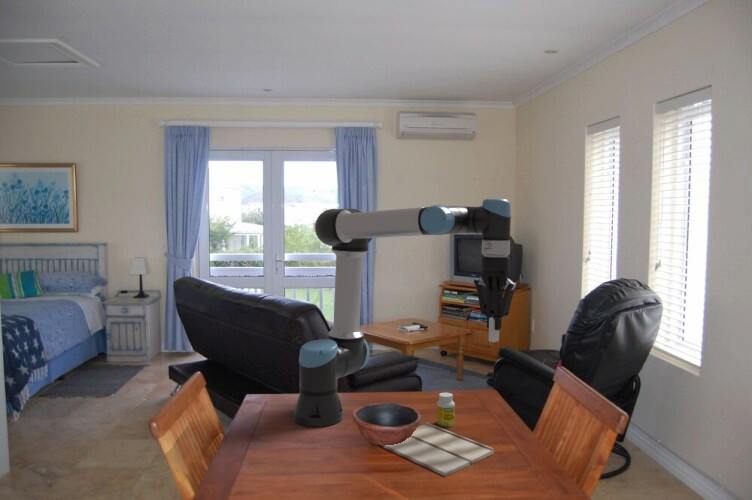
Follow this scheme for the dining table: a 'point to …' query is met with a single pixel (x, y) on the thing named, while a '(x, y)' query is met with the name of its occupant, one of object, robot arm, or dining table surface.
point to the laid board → (428, 456)
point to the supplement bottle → (445, 410)
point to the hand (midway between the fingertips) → (493, 341)
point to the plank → (452, 443)
